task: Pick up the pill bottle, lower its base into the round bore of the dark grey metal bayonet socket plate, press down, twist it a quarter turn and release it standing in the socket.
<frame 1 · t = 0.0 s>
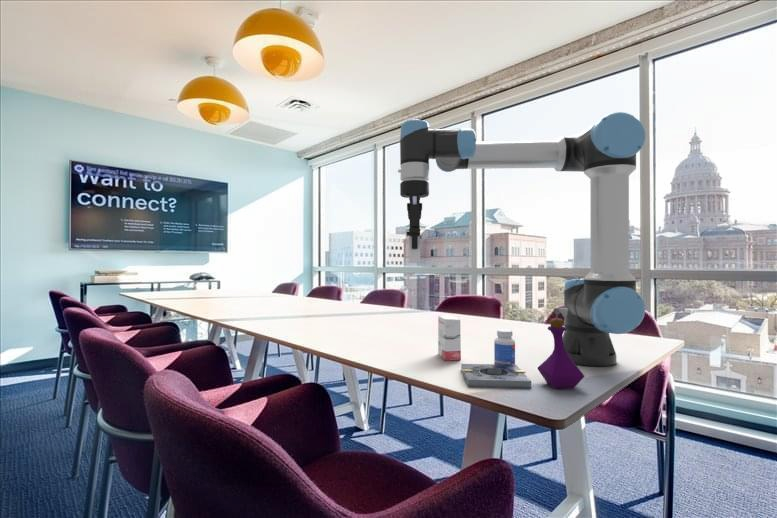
hand: (414, 262, 107), 28 cm above the table, fingers open, 13 cm apart
perfume bottle: (560, 386, 93), on the table
pill bottle: (504, 367, 110), on the table
socket plate: (493, 378, 99), on the table
ink box: (449, 357, 120), on the table
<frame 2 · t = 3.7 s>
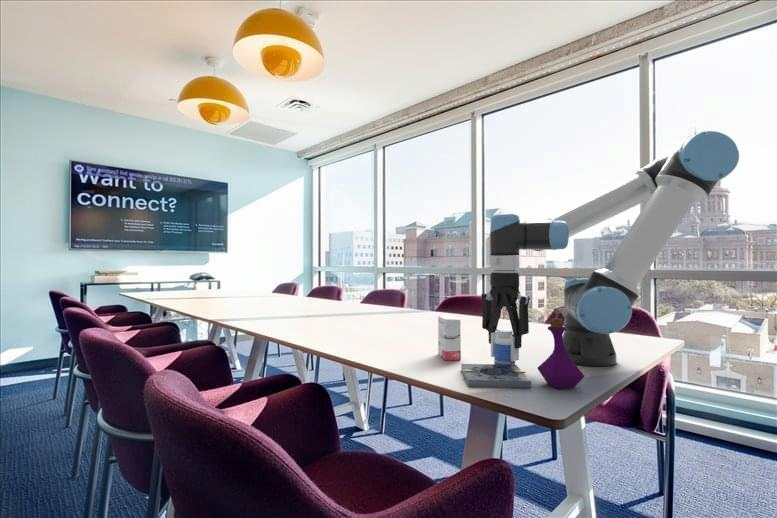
hand: (504, 357, 110), 2 cm above the table, fingers closed on pill bottle, 5 cm apart
pill bottle: (504, 367, 110), on the table, touching gripper
everything else where it was.
when the fingers open (3 cm above the table, at t = 8.3 s): pill bottle stays where it is, resting in socket plate.
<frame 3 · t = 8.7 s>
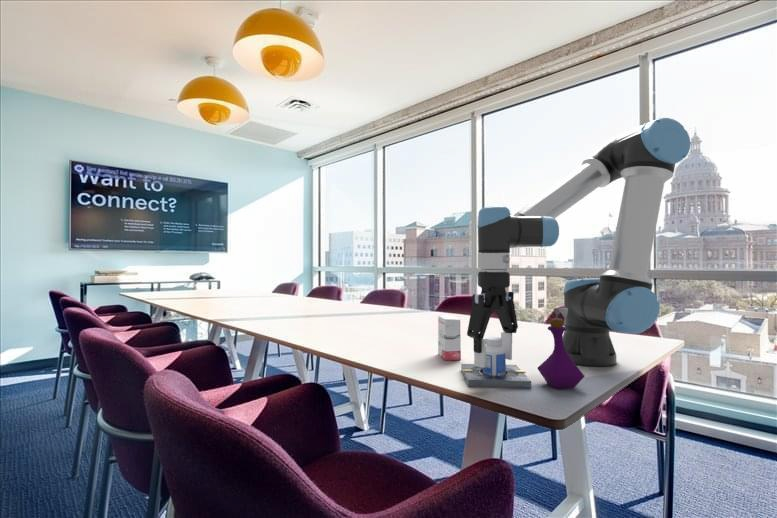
hand: (493, 362, 99), 4 cm above the table, fingers open, 10 cm apart
pill bottle: (494, 379, 99), resting in socket plate
everything else where it was.
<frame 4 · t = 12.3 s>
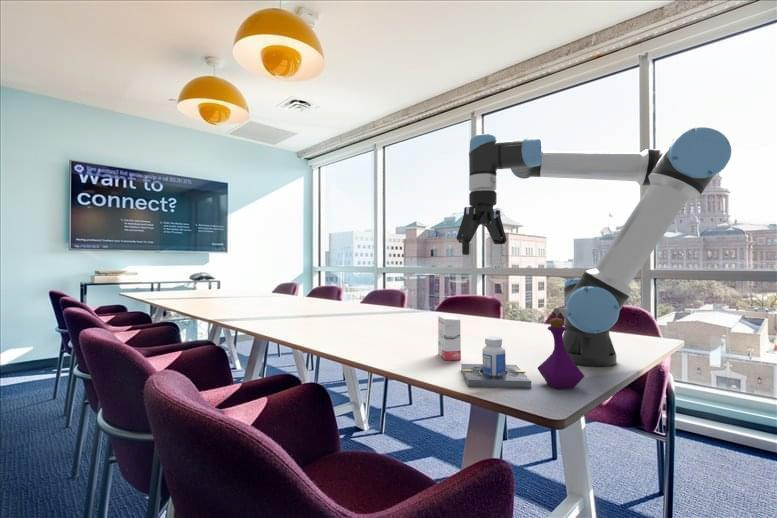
hand: (482, 266, 115), 27 cm above the table, fingers open, 13 cm apart
nothing on the table moved.
at the end: pill bottle 0.1 cm from the socket plate (horizontally); pill bottle tilted 0°; pill bottle resting in socket plate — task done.
